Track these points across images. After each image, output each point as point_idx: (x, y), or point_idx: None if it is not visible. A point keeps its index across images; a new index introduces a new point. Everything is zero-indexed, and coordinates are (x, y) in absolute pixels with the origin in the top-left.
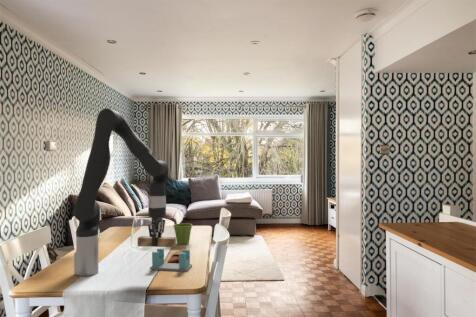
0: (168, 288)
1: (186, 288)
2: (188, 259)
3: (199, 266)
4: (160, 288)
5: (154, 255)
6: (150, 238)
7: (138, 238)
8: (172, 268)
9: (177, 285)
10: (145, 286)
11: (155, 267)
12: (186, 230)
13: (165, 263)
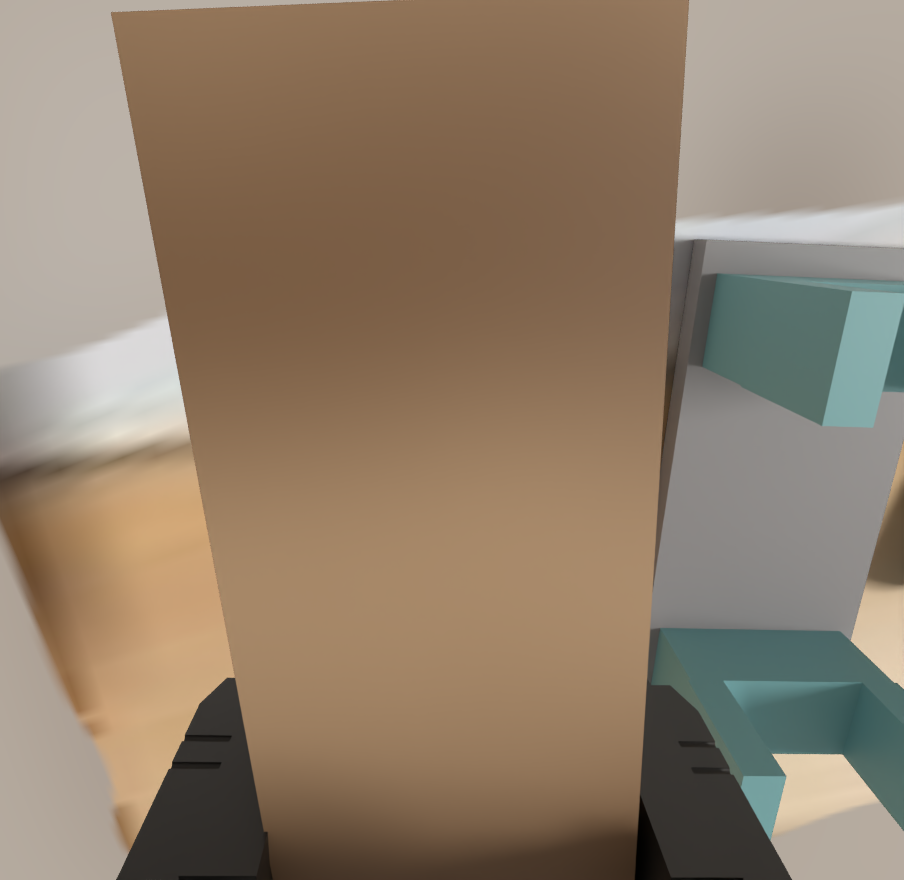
0: (83, 671)
1: (131, 812)
2: (815, 751)
3: (805, 767)
4: (59, 601)
5: (803, 335)
6: (254, 738)
7: (145, 86)
8: (661, 556)
9: (186, 723)
10: (66, 427)
11: (704, 325)
12: None
13: (888, 401)
